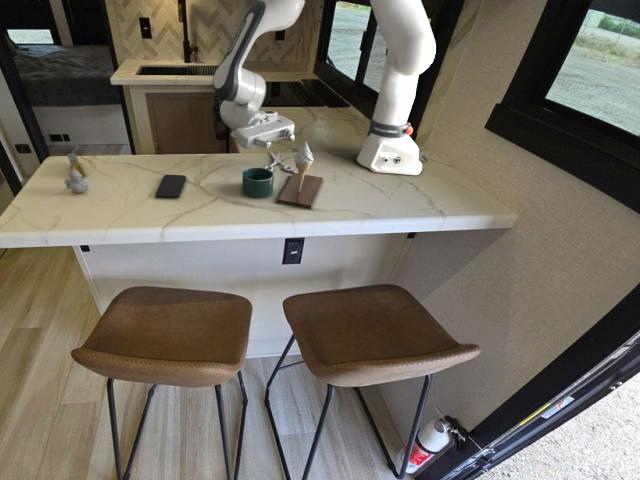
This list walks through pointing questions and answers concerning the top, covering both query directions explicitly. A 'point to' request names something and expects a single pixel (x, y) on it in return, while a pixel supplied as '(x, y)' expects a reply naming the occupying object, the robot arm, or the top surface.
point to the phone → (170, 186)
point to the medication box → (75, 163)
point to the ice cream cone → (303, 163)
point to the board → (301, 191)
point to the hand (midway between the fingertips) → (281, 142)
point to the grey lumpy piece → (76, 182)
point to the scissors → (280, 164)
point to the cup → (257, 182)
